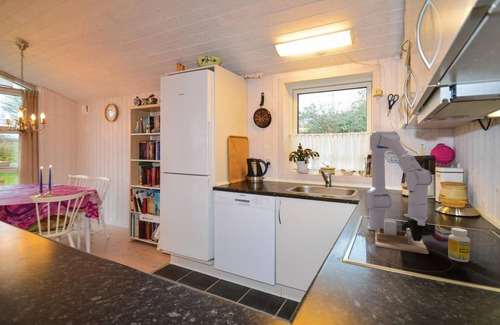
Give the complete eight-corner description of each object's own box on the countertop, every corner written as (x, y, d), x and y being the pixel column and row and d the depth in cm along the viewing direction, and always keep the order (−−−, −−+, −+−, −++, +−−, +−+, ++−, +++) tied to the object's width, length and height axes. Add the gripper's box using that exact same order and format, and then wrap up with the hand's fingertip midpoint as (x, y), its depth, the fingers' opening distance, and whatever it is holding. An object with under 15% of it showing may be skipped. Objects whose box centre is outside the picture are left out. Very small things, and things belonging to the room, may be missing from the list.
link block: (383, 236, 100) (384, 219, 100) (395, 238, 98) (395, 220, 98) (384, 239, 96) (384, 221, 96) (396, 241, 95) (396, 222, 94)
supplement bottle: (457, 255, 84) (458, 226, 84) (474, 262, 79) (475, 231, 78) (443, 256, 83) (444, 227, 83) (459, 262, 78) (460, 232, 78)
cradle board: (375, 232, 108) (375, 224, 108) (419, 238, 101) (419, 230, 100) (375, 245, 91) (375, 236, 91) (428, 254, 84) (428, 244, 84)
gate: (406, 236, 99) (406, 227, 99) (410, 237, 99) (410, 228, 99) (407, 243, 91) (407, 234, 91) (412, 244, 90) (412, 235, 90)
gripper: (401, 199, 99) (400, 233, 99) (408, 205, 86) (407, 245, 86) (422, 200, 96) (421, 235, 96) (433, 207, 83) (431, 248, 83)
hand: (416, 240), depth 91 cm, fingers closed
